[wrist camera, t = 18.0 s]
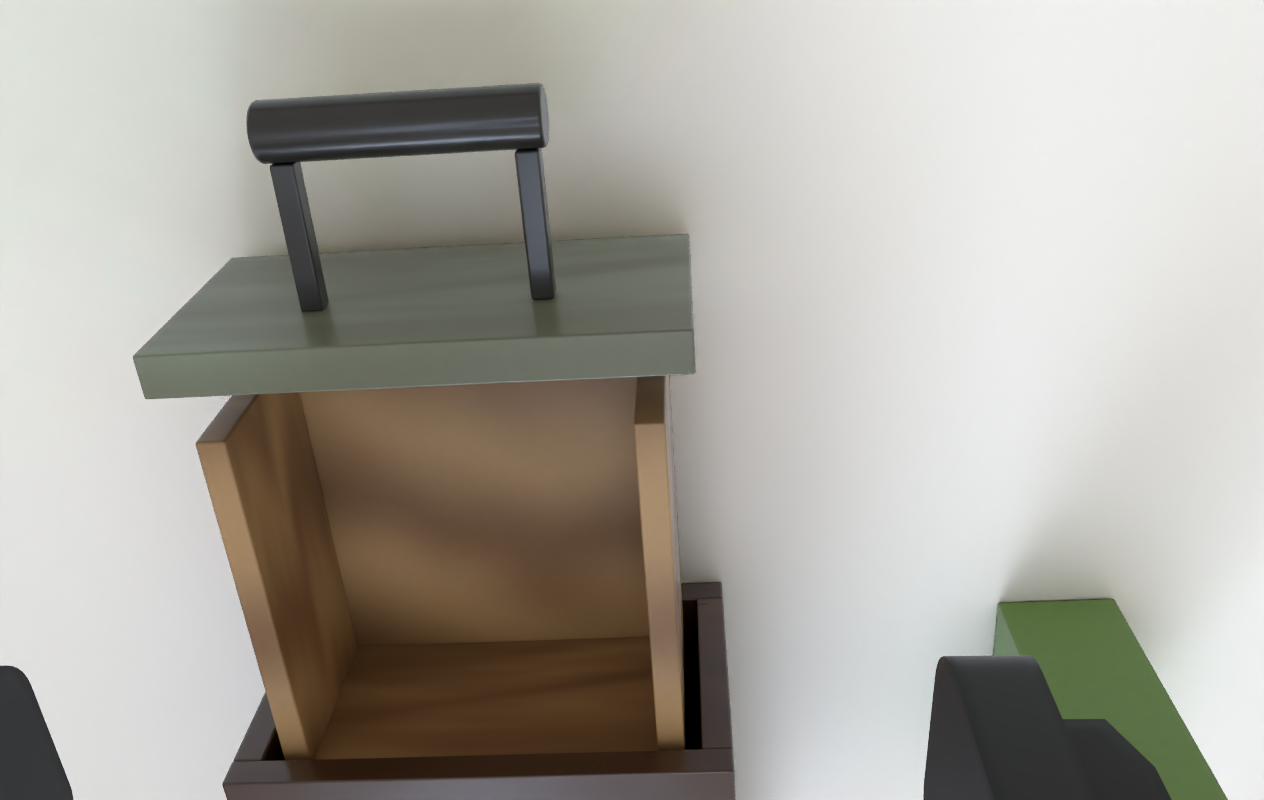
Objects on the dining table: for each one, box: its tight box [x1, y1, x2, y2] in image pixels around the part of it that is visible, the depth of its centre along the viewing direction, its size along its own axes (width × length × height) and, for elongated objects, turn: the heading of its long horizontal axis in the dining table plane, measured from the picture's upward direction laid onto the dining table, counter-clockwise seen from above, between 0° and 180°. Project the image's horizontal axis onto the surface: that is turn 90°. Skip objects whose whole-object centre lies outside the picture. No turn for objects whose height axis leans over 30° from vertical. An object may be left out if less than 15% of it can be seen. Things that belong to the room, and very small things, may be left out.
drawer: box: [133, 83, 696, 760], centre depth 32 cm, size 20×14×7 cm
